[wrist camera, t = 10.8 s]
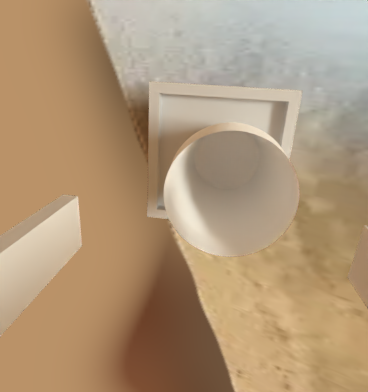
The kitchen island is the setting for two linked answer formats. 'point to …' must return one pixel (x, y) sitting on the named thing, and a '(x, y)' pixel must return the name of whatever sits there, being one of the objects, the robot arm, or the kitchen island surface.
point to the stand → (209, 122)
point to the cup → (231, 190)
